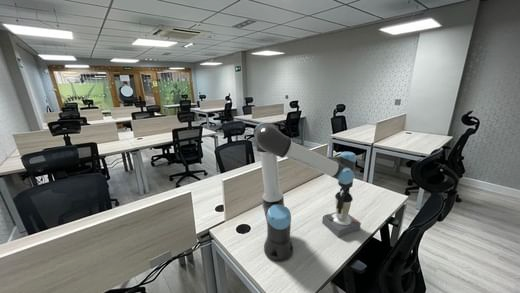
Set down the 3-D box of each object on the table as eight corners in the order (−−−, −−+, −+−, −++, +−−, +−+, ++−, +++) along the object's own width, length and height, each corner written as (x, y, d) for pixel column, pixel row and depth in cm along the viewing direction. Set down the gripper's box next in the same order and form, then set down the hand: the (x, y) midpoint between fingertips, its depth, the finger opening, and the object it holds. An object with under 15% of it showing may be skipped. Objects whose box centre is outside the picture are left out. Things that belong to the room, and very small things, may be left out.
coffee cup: (340, 223, 116) (343, 200, 111) (329, 214, 124) (332, 192, 120) (353, 220, 119) (356, 197, 114) (342, 211, 127) (345, 189, 123)
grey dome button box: (338, 237, 114) (339, 228, 112) (322, 223, 127) (322, 214, 125) (359, 230, 120) (361, 221, 118) (342, 216, 132) (343, 208, 131)
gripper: (347, 187, 104) (342, 225, 111) (357, 174, 120) (353, 208, 126) (332, 184, 109) (329, 220, 115) (344, 171, 125) (340, 204, 131)
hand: (341, 213), depth 121 cm, fingers closed on coffee cup, 8 cm apart
